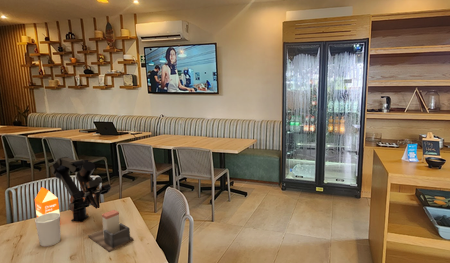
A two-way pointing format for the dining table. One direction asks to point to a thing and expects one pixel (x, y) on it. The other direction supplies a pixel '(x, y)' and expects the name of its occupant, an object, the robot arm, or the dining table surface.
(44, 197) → the orange juice
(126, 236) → the switch base
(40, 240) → the white cup
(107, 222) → the switch lever
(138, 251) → the dining table surface
